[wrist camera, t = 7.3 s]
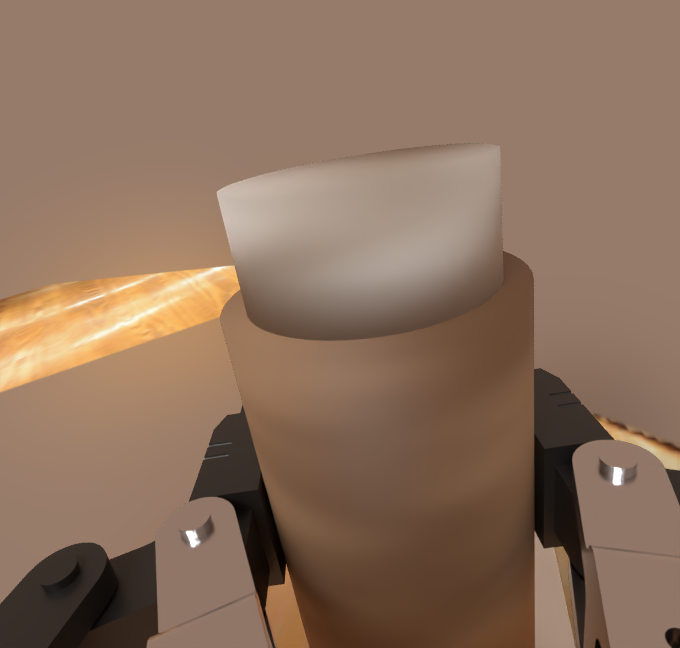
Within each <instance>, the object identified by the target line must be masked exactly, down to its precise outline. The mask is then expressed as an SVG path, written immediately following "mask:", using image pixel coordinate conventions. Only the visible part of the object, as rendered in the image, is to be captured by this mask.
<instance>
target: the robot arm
mask: <svg viewBox="0 0 680 648" xmlns="http://www.w3.org/2000/svg"><path fill="white" fill-rule="evenodd" d="M534 522H535V532H536V534H537V536H538V538H539V540H540V542H541V544H542V546H543V548H544V549H545V548H553V547H560V546H563V547H564V549H565V551H566V553H567V555H568V556H569V569H568V575H569V584H570V593H571V602H572V611H573V619H574V628H575V637H576V646H577V648H680V471H678V470H670V469H665V468H664V466H663V464H662V463H661V461H660V460H659V459H658V458H657V457H656V456H654V455H653V454H652V453H650V452H649V451H647V450H645V449H643V448H641V447H639V446H636V445H634V444H631V443H627V442H623V441H617V440H614V439H613V438H612V437H611V435H610V434H609V433H608V432H607V431H606V430H605V429H604V428H603V426H602V425H601V424H600V423H599V422H598V421H597V420H596V419H595V417H594V416H593V415H592V414H591V413H590V412H589V411H588V410H587V408H586V407H584V405H581V402H580V401H579V399H578V398H577V397H576V396H575V395H574V394H571V390H570V389H569V388H568V387H567V386H566V385H565V384H564V383H563V382H562V380H561V379H560V378H558V377H556V376H554V375H552V374H550V373H549V372H547V371H545V370H543V369H541V368H540V369H534ZM285 570H286V560H285V556H284V553H283V549H282V545H281V542H280V538H279V534H278V531H277V527H276V523H275V520H274V516H273V513H272V509H271V505H270V502H269V498H268V494H267V491H266V487H265V483H264V480H263V476H262V472H261V469H260V465H259V461H258V458H257V454H256V450H255V447H254V443H253V439H252V436H251V432H250V428H249V425H248V421H247V417H246V414H245V410H244V407H243V406H242V409H241V413H238V414H232V415H227V416H226V417H225V418H224V419H223V420H222V421H221V423H220V424H219V425H218V426H217V427H216V428H215V429H214V431H213V434H212V437H211V440H210V443H209V447H208V448H207V452H206V454H205V460H203V463H202V466H201V468H200V471H199V474H198V478H197V480H196V483H195V486H194V489H193V491H192V495H191V497H190V500H189V502H188V503H186V504H184V505H182V506H180V507H179V508H177V509H176V510H174V511H173V512H172V513H171V514H170V515H168V517H167V518H166V519H165V520H164V521H163V522H162V524H161V525H160V527H159V529H158V531H157V534H156V538H155V541H154V542H152V543H150V544H148V545H146V546H143V547H141V548H138V549H136V550H133V551H130V552H128V553H125V554H123V555H120V556H118V557H115V558H113V559H110V560H109V559H108V556H107V554H106V552H105V550H104V549H103V548H102V547H101V546H100V545H97V544H95V543H79V544H75V545H71V546H68V547H65V548H63V549H61V550H59V551H57V552H55V553H53V554H51V555H50V556H48V557H47V558H45V559H44V560H42V561H41V562H40V563H39V564H37V565H36V566H35V567H34V568H33V569H32V570H31V571H30V572H29V573H28V574H27V575H26V576H25V577H24V578H23V579H22V581H21V582H20V583H19V584H18V585H17V586H16V587H15V589H14V590H13V591H12V592H11V593H10V594H9V595H8V596H7V597H6V598H5V600H4V601H3V602H2V603H1V604H0V648H276V644H275V641H274V637H273V633H272V629H271V626H270V622H269V618H268V615H267V612H266V608H265V606H266V599H267V591H268V586H272V585H279V584H284V582H285Z"/></svg>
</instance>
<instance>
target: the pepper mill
mask: <svg viewBox="0 0 680 648" xmlns="http://www.w3.org/2000/svg"><path fill="white" fill-rule="evenodd" d="M500 168H501V167H500V147H499V146H497V145H493V144H483V143H482V144H480V143H468V144H447V145H435V146H424V147H415V148H407V149H399V150H391V151H383V152H377V153H370V154H364V155H357V156H351V157H345V158H339V159H333V160H328V161H323V162H317V163H312V164H308V165H302V166H298V167H293V168H288V169H284V170H280V171H275V172H271V173H267V174H263V175H260V176H256V177H252V178H249V179H245V180H242V181H240V182H236V183H234V184H231V185H228V186H226V187H224V188H222V189H220V190H219V191H218V192H217V197H218V201H219V205H220V209H221V212H222V217H223V221H224V225H225V229H226V233H227V237H228V241H229V245H230V249H231V253H232V257H233V261H234V265H235V269H236V273H237V277H238V281H239V285H240V289H241V290H239V291H238V292H237V293H236V294H234V295H233V296H232V297H231V298H230V299H229V300H228V301H227V303H226V304H225V306H224V307H223V309H222V312H221V315H220V320H221V326H222V330H223V333H224V337H225V341H226V344H227V348H228V352H229V355H230V359H231V363H232V366H233V370H234V373H235V377H236V381H237V384H238V388H239V392H240V395H241V399H242V403H243V407H244V410H245V414H246V417H247V421H248V425H249V428H250V432H251V436H252V439H253V443H254V447H255V450H256V454H257V458H258V461H259V465H260V469H261V472H262V476H263V480H264V483H265V487H266V491H267V494H268V498H269V502H270V505H271V509H272V513H273V516H274V520H275V523H276V527H277V531H278V534H279V538H280V542H281V545H282V549H283V553H284V556H285V560H286V564H287V567H288V571H289V575H290V578H291V582H292V586H293V589H294V593H295V597H296V600H297V604H298V608H299V611H300V615H301V619H302V622H303V626H304V629H305V633H306V637H307V640H308V644H309V648H535V522H534V279H533V274H532V271H531V269H530V268H529V266H528V265H527V264H526V263H525V262H523V261H522V260H521V259H519V258H517V257H516V256H514V255H512V254H509V253H507V252H504V251H503V242H502V241H503V239H502V205H501V169H500Z"/></svg>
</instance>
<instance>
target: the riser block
mask: <svg viewBox="0 0 680 648" xmlns="http://www.w3.org/2000/svg"><path fill="white" fill-rule="evenodd" d="M535 648H576V647H575V643H574V638H573V633H572V628H571V624H570V619H569V614H568V609H567V605H566V600H565V595H564V591H563V586H562V581H561V576H560V572H559V567H558V562H557V558H556V553H555V548H554V547H553V548H545V549H544V548H543V546H542V544H541V542H540V540H539V538H538V536H537V534H536V532H535Z"/></svg>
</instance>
